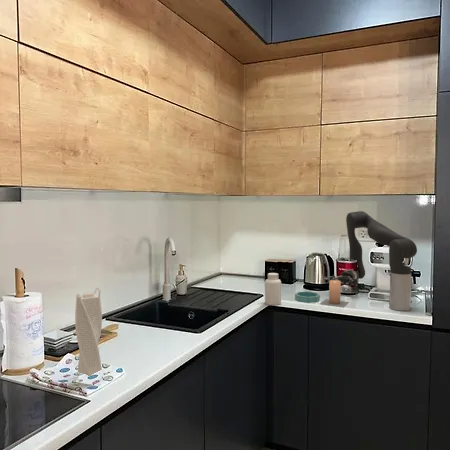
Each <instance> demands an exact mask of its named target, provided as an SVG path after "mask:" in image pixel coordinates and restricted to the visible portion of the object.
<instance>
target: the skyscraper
mask: <svg viewBox="0 0 450 450" xmlns="http://www.w3.org/2000/svg"><path fill="white" fill-rule="evenodd" d="M97 291H98V295H97ZM102 312H103V311H102V301H101V289H100V288H99V287H95V289H94V292H89V291H88V292H83V293H82V294H81V295H80V294H79V293H77V294H76V300H75V311H74V313H75V315H74V316H75V317H74V318H75V321H74V323H75V333H76V340H77V345H78V348H79V354H78V365H77V373H78V372H80V373H83V374H86V375H88V376H91V375H92V374H94V373H96V372H98V371H100V370H102V371H103V369H102V362H101V356H100V349H99V344H100V339H101V334H102V333H101V332H102V327H103V326H102V325H103V313H102Z"/></svg>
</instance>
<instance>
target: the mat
mask: <svg viewBox="0 0 450 450" xmlns="http://www.w3.org/2000/svg"><path fill="white" fill-rule="evenodd" d="M349 303H350V301H345V300H340V304H330V303H329V298H326V299H324V300H323V301H321V302H320V303H319V305H323V306H331V307H336V308H337V307H338V308H345V307H346V306H347V305H348V304H349Z"/></svg>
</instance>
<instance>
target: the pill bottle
mask: <svg viewBox="0 0 450 450" xmlns="http://www.w3.org/2000/svg"><path fill="white" fill-rule="evenodd" d="M264 292H265V293H264V303H265V305H269V306H278V305H281V304H282V281H281V279H279V273H277V272H269V273H267V279H265V280H264Z"/></svg>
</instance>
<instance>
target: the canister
mask: <svg viewBox="0 0 450 450" xmlns="http://www.w3.org/2000/svg"><path fill="white" fill-rule="evenodd" d="M328 283H329V284H328V285H329V287H328V289H329V290H328V292H329V293H328V299H329V303H330V304H340V301H341V292H342V291H341V289H342V286H341V285H342V283H341V281H339V280H330V279H329V282H328Z"/></svg>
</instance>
